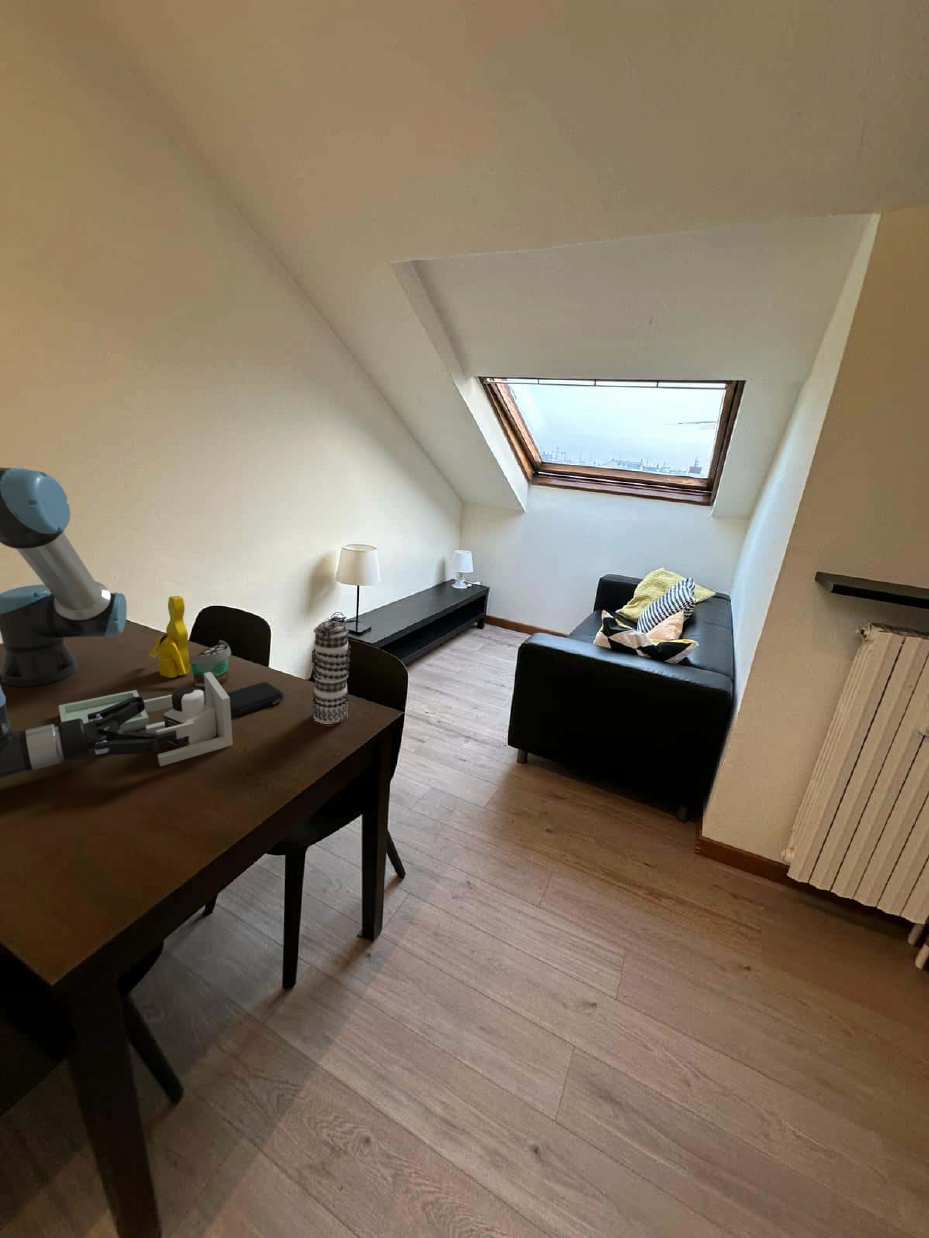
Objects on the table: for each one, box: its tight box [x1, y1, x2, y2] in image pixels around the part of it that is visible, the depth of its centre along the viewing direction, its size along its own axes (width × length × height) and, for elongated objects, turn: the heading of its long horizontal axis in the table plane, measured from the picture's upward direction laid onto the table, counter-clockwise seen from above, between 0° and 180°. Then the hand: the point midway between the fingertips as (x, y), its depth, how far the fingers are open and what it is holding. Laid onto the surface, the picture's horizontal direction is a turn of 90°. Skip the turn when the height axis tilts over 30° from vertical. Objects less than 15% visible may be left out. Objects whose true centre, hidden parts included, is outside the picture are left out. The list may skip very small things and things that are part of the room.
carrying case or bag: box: [226, 681, 284, 717], centre depth 125 cm, size 11×3×15 cm
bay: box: [145, 672, 234, 767], centre depth 106 cm, size 14×14×12 cm
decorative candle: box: [311, 620, 352, 724], centre depth 119 cm, size 9×9×25 cm
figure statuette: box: [148, 595, 191, 679], centre depth 132 cm, size 18×8×22 cm, turn 58°
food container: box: [189, 639, 232, 690], centre depth 131 cm, size 12×6×10 cm, turn 168°
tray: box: [58, 689, 150, 732], centre depth 111 cm, size 15×15×2 cm
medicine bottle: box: [163, 686, 217, 748], centre depth 107 cm, size 7×7×12 cm
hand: (185, 712), depth 105 cm, fingers open, 13 cm apart
